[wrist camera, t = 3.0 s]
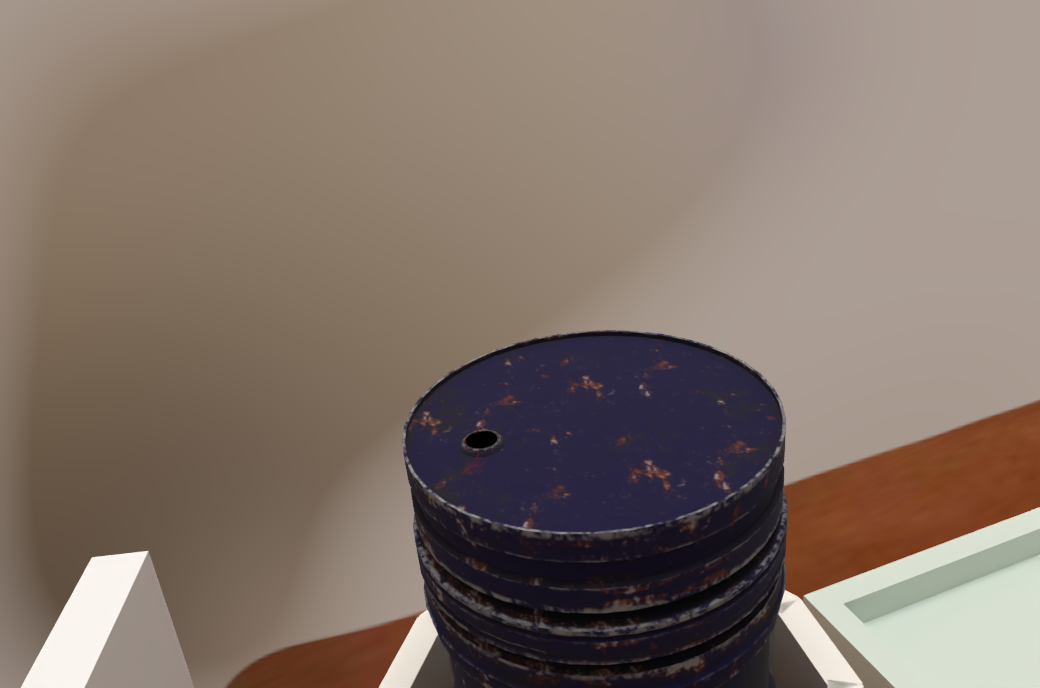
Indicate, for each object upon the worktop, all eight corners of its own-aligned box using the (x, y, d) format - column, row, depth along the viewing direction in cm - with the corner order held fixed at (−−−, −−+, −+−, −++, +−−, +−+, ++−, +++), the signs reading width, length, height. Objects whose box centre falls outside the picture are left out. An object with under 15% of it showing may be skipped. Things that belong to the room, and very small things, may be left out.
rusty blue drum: (695, 657, 35) (688, 304, 29) (841, 896, 27) (878, 471, 20) (442, 731, 34) (372, 371, 27) (511, 1014, 25) (434, 587, 18)
